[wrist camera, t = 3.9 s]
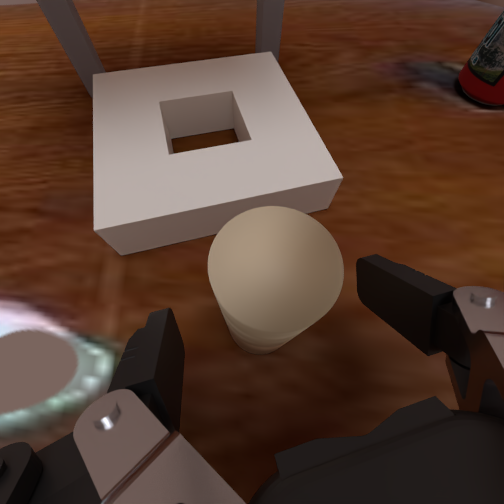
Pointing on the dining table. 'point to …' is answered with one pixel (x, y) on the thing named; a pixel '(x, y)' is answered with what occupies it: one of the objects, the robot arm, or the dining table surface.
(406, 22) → the dining table surface
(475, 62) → the beverage can
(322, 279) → the peg
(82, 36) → the two-legged shelf table
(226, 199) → the socket
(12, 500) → the robot arm
